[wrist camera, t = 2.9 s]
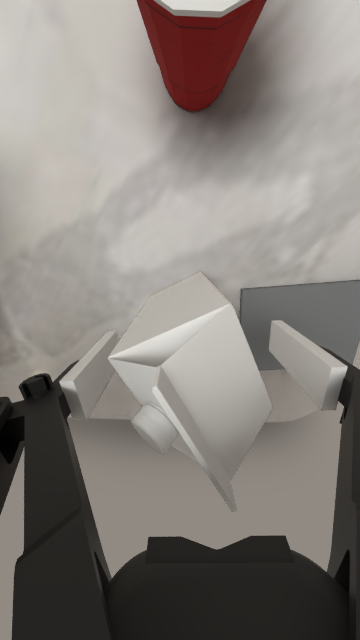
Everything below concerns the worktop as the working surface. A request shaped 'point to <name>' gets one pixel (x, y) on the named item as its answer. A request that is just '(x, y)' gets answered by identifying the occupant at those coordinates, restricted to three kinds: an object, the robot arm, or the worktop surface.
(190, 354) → the milk carton
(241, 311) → the gray mat
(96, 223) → the worktop surface
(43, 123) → the worktop surface
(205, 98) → the plastic cup
